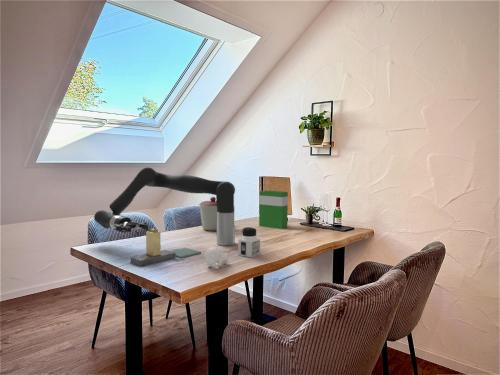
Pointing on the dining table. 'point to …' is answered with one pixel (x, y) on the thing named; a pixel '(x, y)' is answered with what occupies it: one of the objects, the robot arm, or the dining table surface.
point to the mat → (185, 252)
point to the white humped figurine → (215, 257)
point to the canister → (209, 214)
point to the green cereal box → (273, 209)
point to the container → (249, 243)
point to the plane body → (152, 258)
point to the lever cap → (153, 243)
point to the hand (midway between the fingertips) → (138, 228)
